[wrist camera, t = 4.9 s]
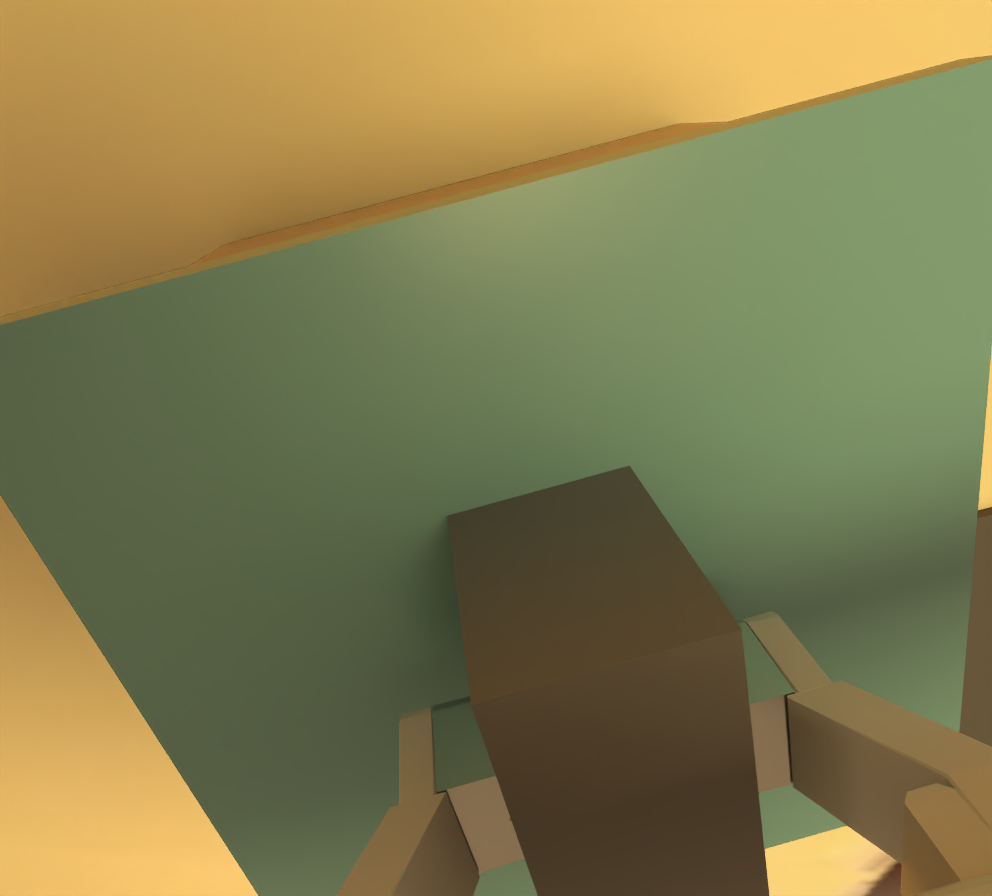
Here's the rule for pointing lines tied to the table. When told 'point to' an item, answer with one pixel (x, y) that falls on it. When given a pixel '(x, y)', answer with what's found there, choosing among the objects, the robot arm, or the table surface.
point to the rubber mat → (979, 640)
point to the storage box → (452, 190)
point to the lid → (537, 484)
